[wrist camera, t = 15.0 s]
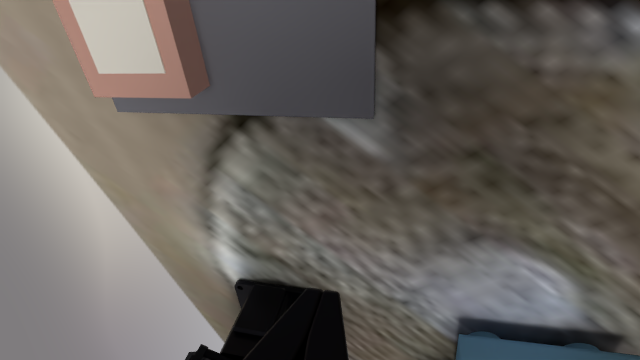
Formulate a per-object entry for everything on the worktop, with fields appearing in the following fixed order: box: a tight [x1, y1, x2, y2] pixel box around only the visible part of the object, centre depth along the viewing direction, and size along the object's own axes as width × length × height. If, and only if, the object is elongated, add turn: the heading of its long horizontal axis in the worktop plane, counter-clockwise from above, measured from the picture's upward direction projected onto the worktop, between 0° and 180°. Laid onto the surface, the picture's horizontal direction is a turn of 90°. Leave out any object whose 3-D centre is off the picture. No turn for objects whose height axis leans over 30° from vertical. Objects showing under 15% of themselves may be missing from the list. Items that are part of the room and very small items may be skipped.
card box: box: [52, 0, 210, 98], centre depth 17 cm, size 9×2×6 cm
